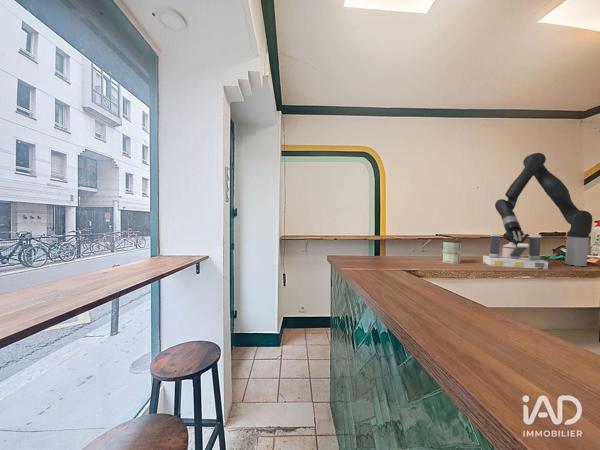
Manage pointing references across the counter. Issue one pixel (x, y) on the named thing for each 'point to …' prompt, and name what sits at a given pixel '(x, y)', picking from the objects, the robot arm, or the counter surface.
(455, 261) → the coffee can
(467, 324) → the counter surface
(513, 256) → the lever middle
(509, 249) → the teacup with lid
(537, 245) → the lever near
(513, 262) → the console
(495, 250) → the lever far
